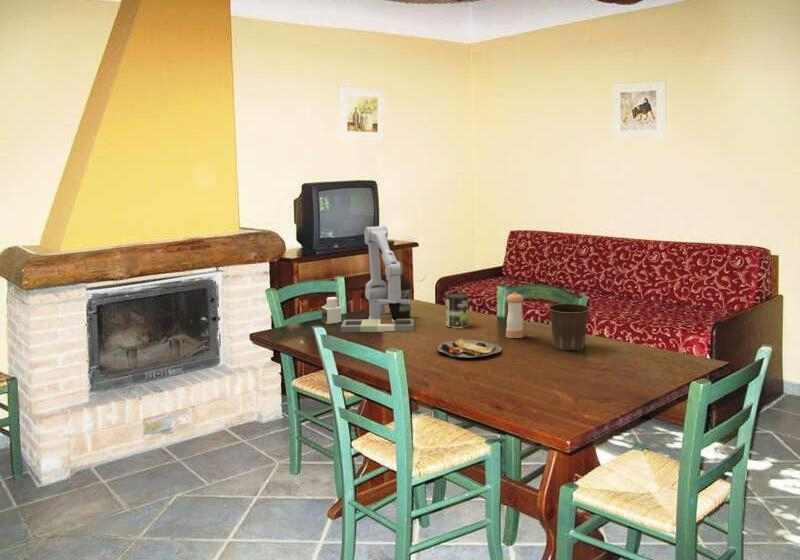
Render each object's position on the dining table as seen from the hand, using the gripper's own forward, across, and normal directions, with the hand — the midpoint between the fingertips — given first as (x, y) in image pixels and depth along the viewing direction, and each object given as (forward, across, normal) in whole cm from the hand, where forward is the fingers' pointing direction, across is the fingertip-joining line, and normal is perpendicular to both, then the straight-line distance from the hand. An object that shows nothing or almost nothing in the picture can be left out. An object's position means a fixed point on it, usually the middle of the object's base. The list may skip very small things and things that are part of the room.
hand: (394, 320), depth 337 cm
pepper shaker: (+4, +51, -20) cm, 55 cm away
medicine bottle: (+4, -30, +14) cm, 33 cm away
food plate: (+4, +30, -43) cm, 53 cm away
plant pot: (+4, +70, -38) cm, 80 cm away
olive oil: (+4, +2, +19) cm, 19 cm away
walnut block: (+1, -4, 0) cm, 4 cm away
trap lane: (+4, -8, 0) cm, 8 cm away
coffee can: (+4, +28, +2) cm, 28 cm away
